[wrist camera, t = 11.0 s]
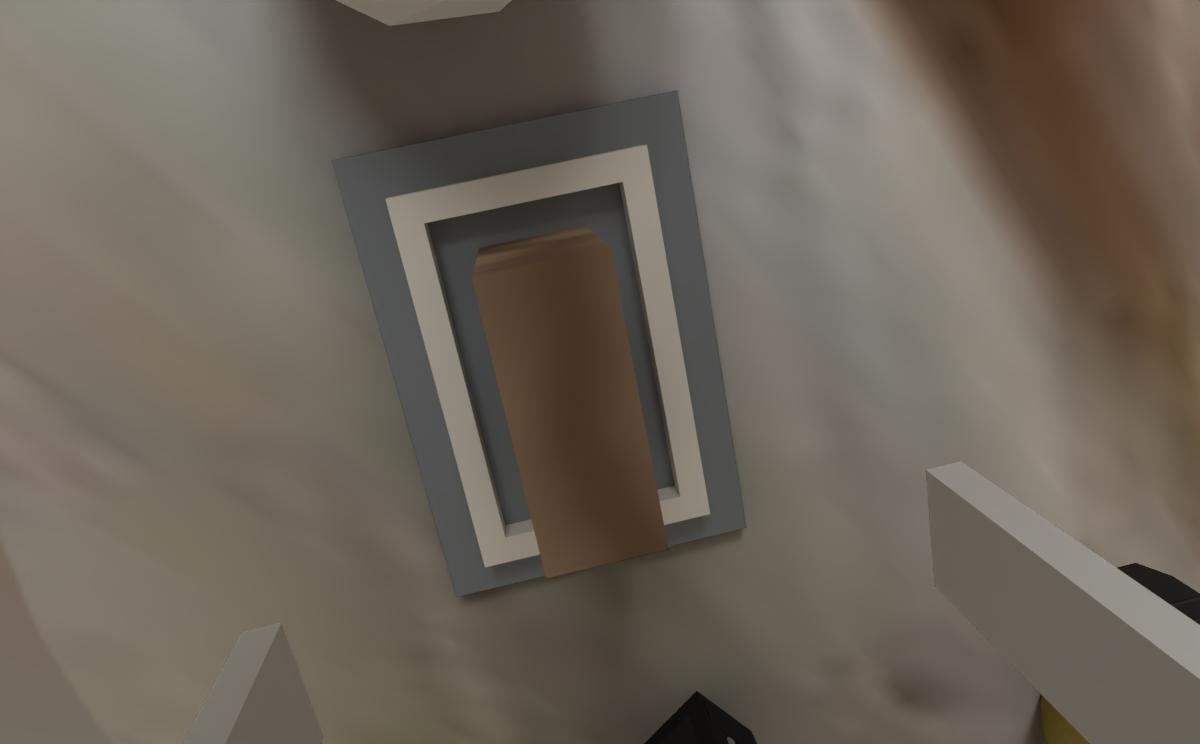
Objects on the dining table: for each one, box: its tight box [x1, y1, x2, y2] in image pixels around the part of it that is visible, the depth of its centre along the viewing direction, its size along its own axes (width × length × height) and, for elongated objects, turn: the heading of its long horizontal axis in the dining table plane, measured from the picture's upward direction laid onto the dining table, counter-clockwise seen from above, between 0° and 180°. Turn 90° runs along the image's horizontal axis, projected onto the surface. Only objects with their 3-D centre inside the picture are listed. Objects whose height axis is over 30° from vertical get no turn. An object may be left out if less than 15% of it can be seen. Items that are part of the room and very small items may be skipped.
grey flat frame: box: [332, 91, 746, 597], centre depth 34 cm, size 20×14×2 cm
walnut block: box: [472, 225, 669, 579], centre depth 30 cm, size 4×11×8 cm, turn 12°
